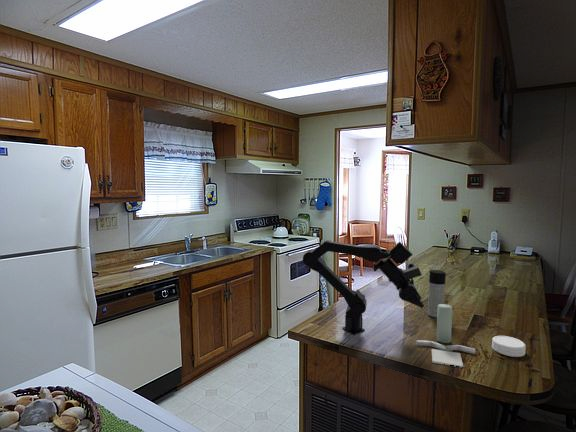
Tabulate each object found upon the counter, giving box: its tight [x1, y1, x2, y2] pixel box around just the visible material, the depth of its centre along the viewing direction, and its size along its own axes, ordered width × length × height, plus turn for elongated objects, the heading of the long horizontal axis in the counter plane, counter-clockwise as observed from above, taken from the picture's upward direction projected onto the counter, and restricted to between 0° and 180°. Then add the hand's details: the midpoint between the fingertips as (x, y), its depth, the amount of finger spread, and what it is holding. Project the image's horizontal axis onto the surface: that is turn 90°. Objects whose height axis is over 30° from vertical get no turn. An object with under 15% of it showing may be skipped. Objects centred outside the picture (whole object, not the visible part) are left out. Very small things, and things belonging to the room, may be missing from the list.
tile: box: [431, 348, 464, 368], centre depth 116 cm, size 9×9×1 cm
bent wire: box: [415, 339, 476, 355], centre depth 123 cm, size 19×4×2 cm, turn 70°
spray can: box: [427, 269, 447, 319], centre depth 155 cm, size 7×7×20 cm
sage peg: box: [435, 303, 453, 344], centre depth 130 cm, size 5×5×13 cm
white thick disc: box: [491, 335, 526, 358], centre depth 122 cm, size 10×10×4 cm
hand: (421, 302), depth 132 cm, fingers open, 9 cm apart
